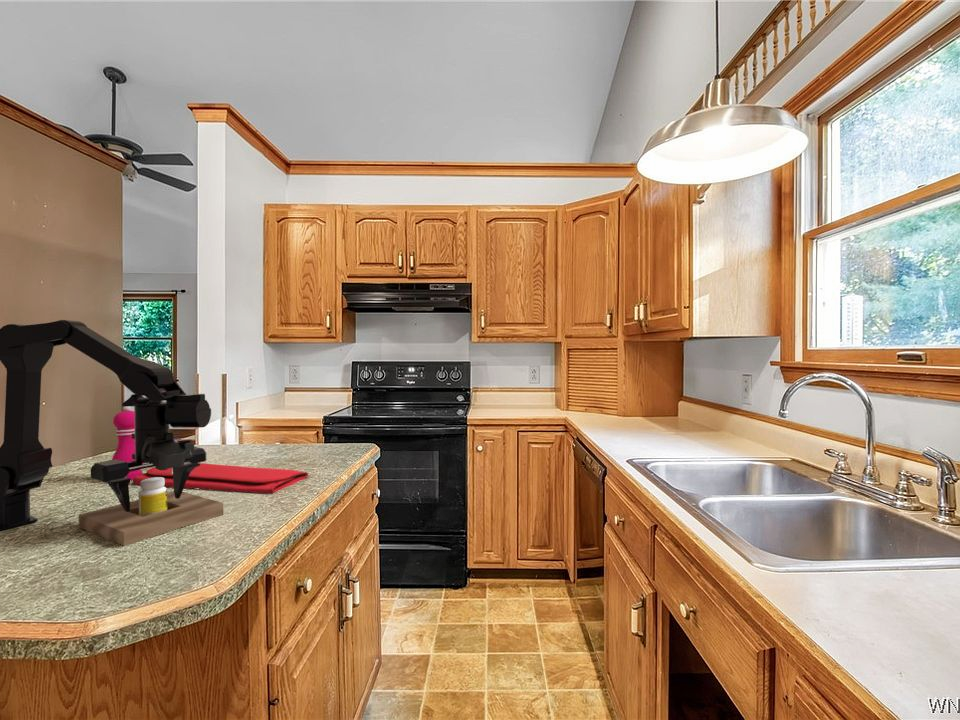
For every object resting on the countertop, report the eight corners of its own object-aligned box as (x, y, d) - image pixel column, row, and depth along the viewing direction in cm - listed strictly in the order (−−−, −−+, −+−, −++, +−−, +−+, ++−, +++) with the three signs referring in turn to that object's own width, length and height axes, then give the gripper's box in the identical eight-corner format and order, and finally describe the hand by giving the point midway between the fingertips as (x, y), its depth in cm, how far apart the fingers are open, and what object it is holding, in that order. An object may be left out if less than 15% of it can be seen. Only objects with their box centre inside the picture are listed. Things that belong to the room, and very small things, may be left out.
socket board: (79, 527, 90) (78, 514, 90) (176, 501, 106) (176, 490, 106) (123, 546, 81) (123, 532, 81) (223, 514, 97) (223, 502, 97)
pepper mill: (140, 473, 130) (139, 402, 130) (148, 477, 126) (147, 404, 125) (108, 479, 125) (106, 405, 124) (115, 483, 120) (113, 407, 120)
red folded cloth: (271, 496, 111) (271, 481, 111) (130, 487, 119) (130, 472, 119) (308, 479, 126) (308, 465, 126) (181, 471, 134) (181, 458, 134)
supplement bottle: (171, 519, 94) (171, 478, 94) (145, 526, 90) (144, 484, 90) (161, 515, 97) (160, 475, 97) (134, 522, 93) (133, 480, 93)
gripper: (117, 439, 81) (118, 527, 82) (221, 424, 97) (221, 498, 98) (88, 433, 87) (90, 516, 87) (191, 420, 103) (192, 490, 103)
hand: (153, 504), depth 94 cm, fingers open, 9 cm apart
